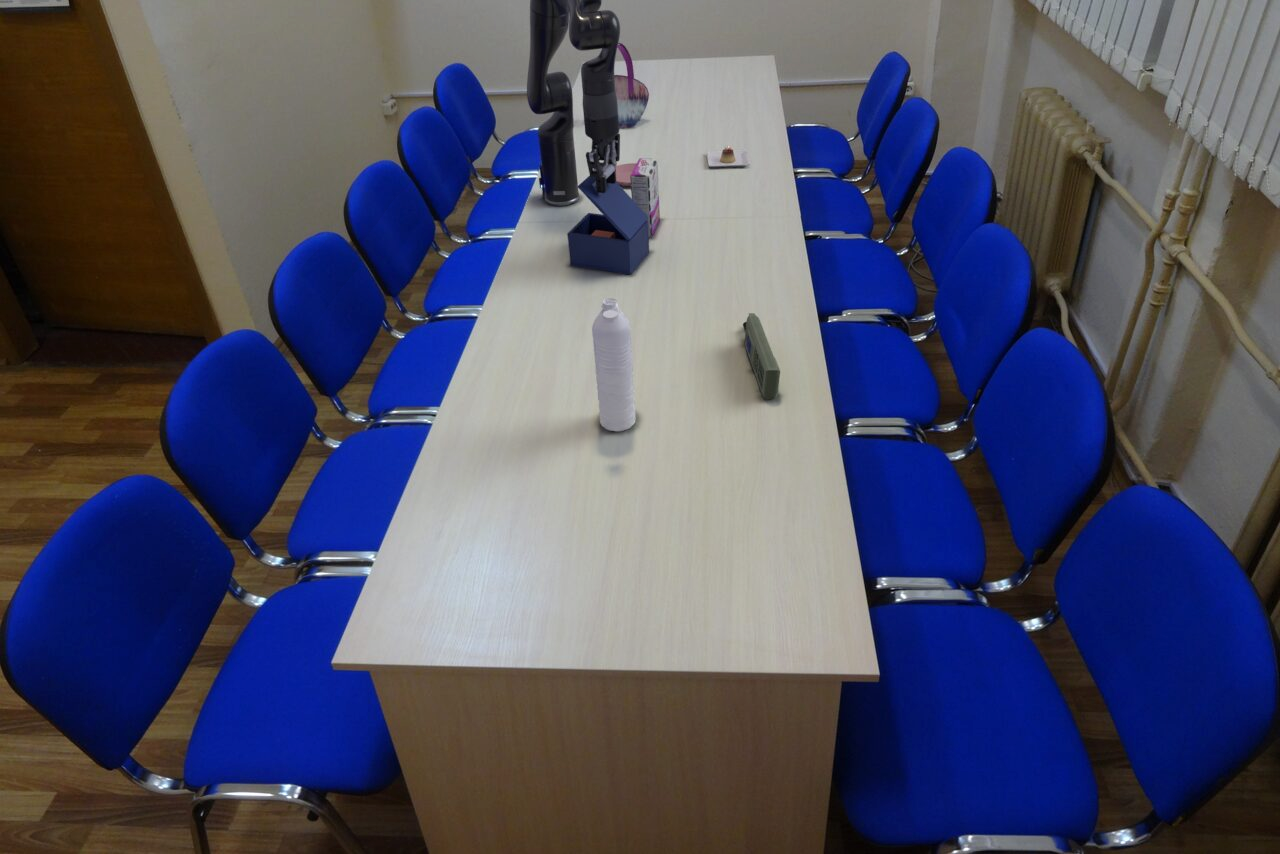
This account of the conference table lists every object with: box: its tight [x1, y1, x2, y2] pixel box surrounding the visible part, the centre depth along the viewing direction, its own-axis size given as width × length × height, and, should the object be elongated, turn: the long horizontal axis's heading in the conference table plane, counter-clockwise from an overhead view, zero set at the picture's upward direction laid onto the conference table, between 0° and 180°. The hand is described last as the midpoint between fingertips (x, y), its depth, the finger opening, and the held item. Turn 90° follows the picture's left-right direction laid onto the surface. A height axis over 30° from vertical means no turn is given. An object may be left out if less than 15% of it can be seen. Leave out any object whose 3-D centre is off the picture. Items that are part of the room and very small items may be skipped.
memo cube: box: [591, 230, 615, 239], centre depth 205 cm, size 5×5×5 cm
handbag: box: [614, 42, 650, 129], centre depth 276 cm, size 21×10×25 cm, turn 85°
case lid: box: [578, 164, 649, 241], centre depth 195 cm, size 16×12×5 cm
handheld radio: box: [742, 312, 781, 401], centre depth 167 cm, size 7×3×25 cm
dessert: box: [706, 144, 751, 168], centre depth 251 cm, size 12×12×5 cm
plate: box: [615, 162, 637, 187], centre depth 244 cm, size 14×14×2 cm
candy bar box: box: [630, 157, 661, 239], centre depth 214 cm, size 11×5×16 cm, turn 168°
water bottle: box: [591, 297, 636, 432], centre depth 147 cm, size 9×6×25 cm
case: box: [566, 212, 650, 275], centre depth 204 cm, size 16×12×8 cm
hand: (606, 187), depth 195 cm, fingers closed on case lid, 5 cm apart
